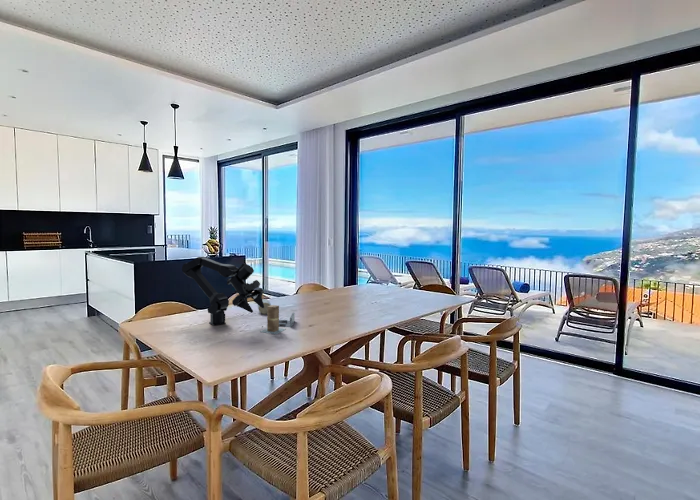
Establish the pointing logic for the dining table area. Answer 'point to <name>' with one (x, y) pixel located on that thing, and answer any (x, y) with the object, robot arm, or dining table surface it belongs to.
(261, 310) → the ceramic mug
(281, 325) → the bracket
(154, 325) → the dining table surface
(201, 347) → the dining table surface
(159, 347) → the dining table surface
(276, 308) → the tan rectangular block
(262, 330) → the mat
